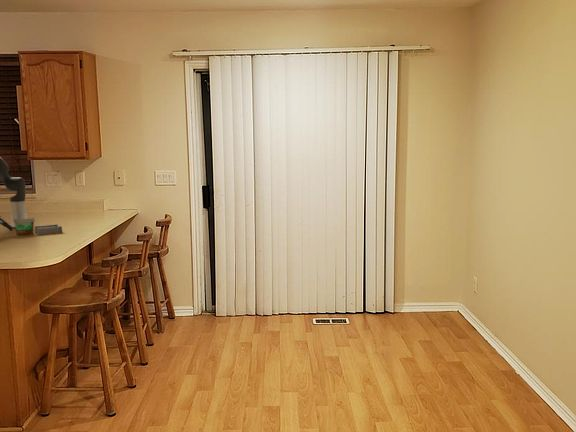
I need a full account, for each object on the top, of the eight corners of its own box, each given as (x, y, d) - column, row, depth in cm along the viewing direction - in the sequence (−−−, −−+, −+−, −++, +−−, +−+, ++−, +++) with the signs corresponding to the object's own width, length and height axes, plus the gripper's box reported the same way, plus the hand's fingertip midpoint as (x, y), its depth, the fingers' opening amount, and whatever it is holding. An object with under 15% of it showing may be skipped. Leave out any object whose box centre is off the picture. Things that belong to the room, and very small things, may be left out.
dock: (35, 232, 378) (34, 226, 378) (59, 230, 385) (58, 224, 385) (37, 234, 368) (37, 228, 367) (62, 232, 375) (61, 226, 374)
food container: (12, 235, 365) (11, 219, 364) (14, 234, 371) (13, 218, 370) (33, 235, 368) (32, 219, 366) (35, 233, 374) (34, 217, 372)
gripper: (-7, 207, 353) (17, 226, 361) (-8, 205, 365) (15, 223, 373) (-16, 217, 352) (8, 235, 359) (-17, 214, 363) (6, 232, 371)
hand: (12, 229), depth 366 cm, fingers closed
